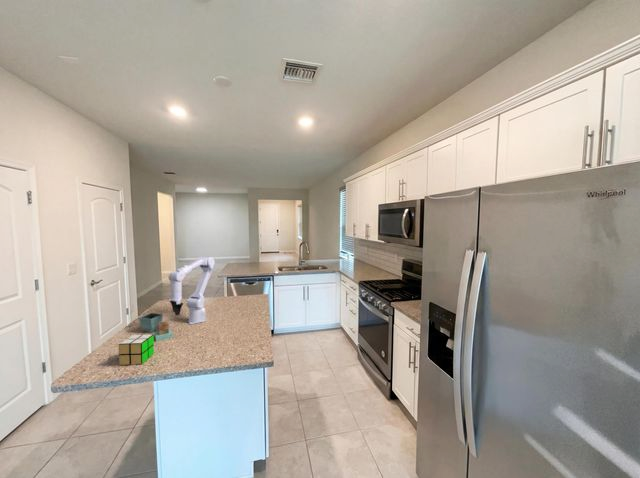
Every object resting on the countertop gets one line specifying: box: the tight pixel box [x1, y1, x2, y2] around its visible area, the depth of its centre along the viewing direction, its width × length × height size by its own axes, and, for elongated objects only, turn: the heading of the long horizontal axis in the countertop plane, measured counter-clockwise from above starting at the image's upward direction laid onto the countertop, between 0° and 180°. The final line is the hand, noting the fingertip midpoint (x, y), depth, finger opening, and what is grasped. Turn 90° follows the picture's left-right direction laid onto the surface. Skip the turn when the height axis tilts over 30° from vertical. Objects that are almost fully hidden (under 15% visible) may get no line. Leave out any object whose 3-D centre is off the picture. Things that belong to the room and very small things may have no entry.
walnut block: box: [157, 320, 170, 335], centre depth 145 cm, size 4×4×6 cm
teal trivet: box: [153, 328, 174, 342], centre depth 145 cm, size 8×8×3 cm
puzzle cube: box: [118, 334, 155, 366], centre depth 120 cm, size 10×10×10 cm
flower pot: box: [138, 312, 164, 333], centre depth 154 cm, size 9×9×9 cm
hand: (176, 313), depth 155 cm, fingers open, 7 cm apart
